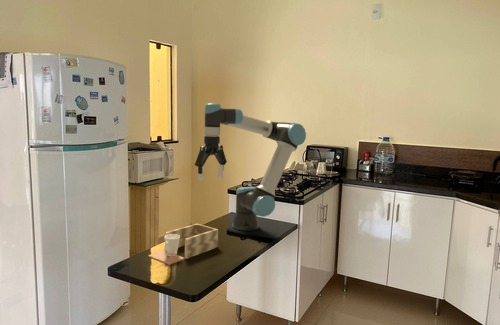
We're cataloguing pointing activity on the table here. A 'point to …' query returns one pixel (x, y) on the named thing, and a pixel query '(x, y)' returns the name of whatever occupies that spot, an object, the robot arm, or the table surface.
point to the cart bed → (196, 239)
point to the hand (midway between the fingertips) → (210, 179)
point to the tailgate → (166, 258)
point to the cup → (171, 244)
